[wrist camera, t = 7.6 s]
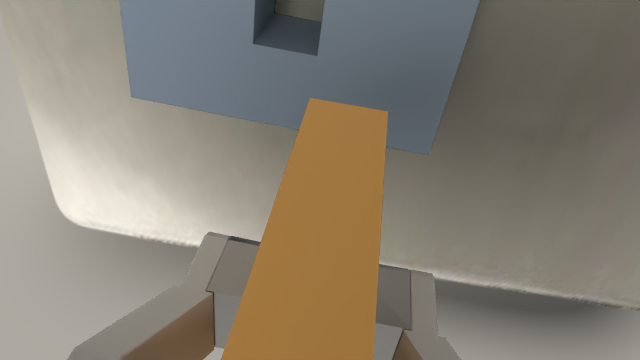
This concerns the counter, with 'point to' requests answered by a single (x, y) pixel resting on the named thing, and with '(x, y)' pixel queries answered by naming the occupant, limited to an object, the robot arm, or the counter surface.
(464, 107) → the counter surface
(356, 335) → the orange rectangular block
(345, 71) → the blue holed block
